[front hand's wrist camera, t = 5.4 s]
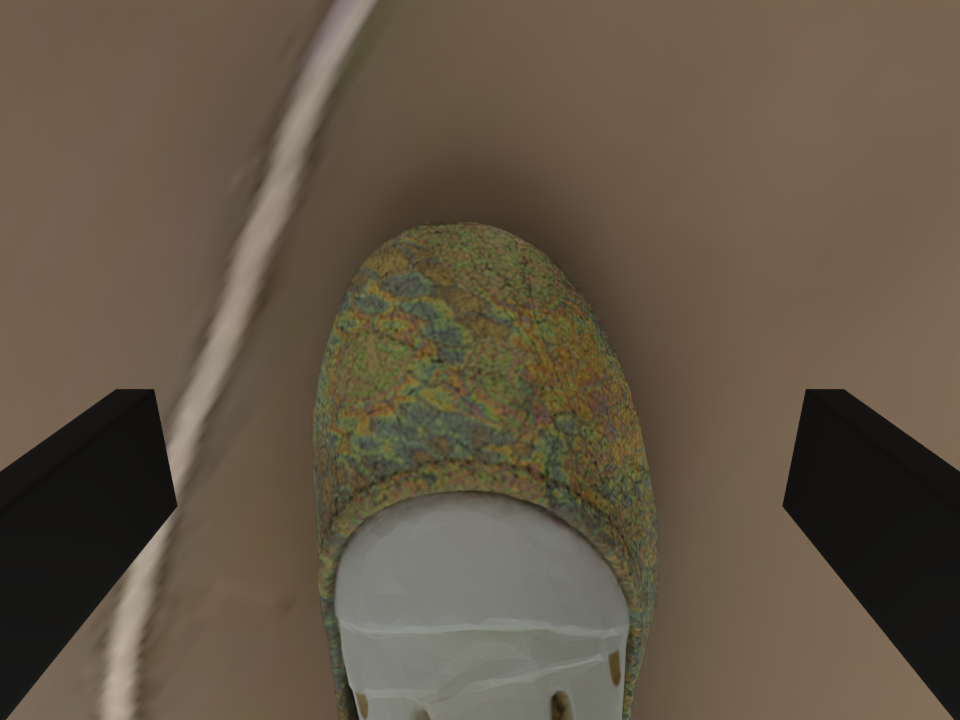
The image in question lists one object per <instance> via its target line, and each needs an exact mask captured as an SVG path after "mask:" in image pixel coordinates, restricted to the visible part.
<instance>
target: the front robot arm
mask: <svg viewBox="0 0 960 720" xmlns="http://www.w3.org/2000/svg"><path fill="white" fill-rule="evenodd" d="M176 507H177V501H176V496H175V491H174V486H173V481H172V476H171V471H170V466H169V461H168V456H167V451H166V446H165V441H164V436H163V431H162V426H161V421H160V416H159V411H158V406H157V401H156V396H155V391H154V389H116V390H114V391H113V392H111V393H110V394H109V395H107V396H106V397H104V398H103V399H102V400H100V401H99V402H97V403H96V404H95V405H93V406H92V407H90V408H89V409H88V410H86V411H85V412H83V413H82V414H81V415H79V416H78V417H76V418H75V419H74V420H72V421H71V422H69V423H68V424H67V425H65V426H64V427H62V428H61V429H60V430H58V431H57V432H55V433H54V434H53V435H51V436H50V437H48V438H47V439H45V440H44V441H43V442H41V443H40V444H38V445H37V446H36V447H34V448H33V449H31V450H30V451H29V452H27V453H26V454H24V455H23V456H22V457H20V458H19V459H17V460H16V461H15V462H13V463H12V464H10V465H9V466H8V467H6V468H5V469H3V470H2V471H1V472H0V720H6V719H7V718H8V716H9V715H10V714H11V713H12V711H13V710H14V709H15V708H16V706H17V705H18V704H19V703H20V701H21V700H22V699H23V698H24V696H25V695H26V694H27V693H28V692H29V690H30V689H31V688H32V687H33V685H34V684H35V683H36V682H37V680H38V679H39V678H40V677H41V675H42V674H43V673H44V672H45V670H46V669H47V668H48V667H49V665H50V664H51V663H52V662H53V660H54V659H55V658H56V657H57V655H58V654H59V653H60V652H61V650H62V649H63V648H64V647H65V645H66V644H67V643H68V642H69V641H70V639H71V638H72V637H73V636H74V634H75V633H76V632H77V631H78V629H79V628H80V627H81V626H82V624H83V623H84V622H85V621H86V619H87V618H88V617H89V616H90V614H91V613H92V612H93V611H94V609H95V608H96V607H97V606H98V604H99V603H100V602H101V601H102V599H103V598H104V597H105V596H106V595H107V593H108V592H109V591H110V590H111V588H112V587H113V586H114V585H115V583H116V582H117V581H118V580H119V578H120V577H121V576H122V575H123V573H124V572H125V571H126V570H127V568H128V567H129V566H130V565H131V563H132V562H133V561H134V560H135V558H136V557H137V556H138V555H139V553H140V552H141V551H142V550H143V549H144V547H145V546H146V545H147V544H148V542H149V541H150V540H151V539H152V537H153V536H154V535H155V534H156V532H157V531H158V530H159V529H160V527H161V526H162V525H163V524H164V522H165V521H166V520H167V519H168V517H169V516H170V515H171V514H172V512H173V511H174V510H175V509H176ZM783 507H784V509H785V510H786V511H787V512H788V514H789V515H790V516H791V517H792V519H793V520H794V521H795V522H796V524H797V525H798V526H799V527H800V529H801V530H802V531H803V532H804V534H805V535H806V536H807V537H808V539H809V540H810V541H811V542H812V544H813V545H814V546H815V547H816V549H817V550H818V551H819V552H820V553H821V555H822V556H823V557H824V558H825V560H826V561H827V562H828V563H829V565H830V566H831V567H832V568H833V570H834V571H835V572H836V573H837V575H838V576H839V577H840V578H841V580H842V581H843V582H844V583H845V585H846V586H847V587H848V588H849V590H850V591H851V592H852V593H853V595H854V596H855V597H856V598H857V599H858V601H859V602H860V603H861V604H862V606H863V607H864V608H865V609H866V611H867V612H868V613H869V614H870V616H871V617H872V618H873V619H874V621H875V622H876V623H877V624H878V626H879V627H880V628H881V629H882V631H883V632H884V633H885V634H886V636H887V637H888V638H889V639H890V641H891V642H892V643H893V644H894V645H895V647H896V648H897V649H898V650H899V652H900V653H901V654H902V655H903V657H904V658H905V659H906V660H907V662H908V663H909V664H910V665H911V667H912V668H913V669H914V670H915V672H916V673H917V674H918V675H919V677H920V678H921V679H922V680H923V682H924V683H925V684H926V685H927V687H928V688H929V689H930V690H931V692H932V693H933V694H934V695H935V696H936V698H937V699H938V700H939V701H940V703H941V704H942V705H943V706H944V708H945V709H946V710H947V711H948V713H949V714H950V715H951V716H952V718H953V719H954V720H960V472H959V471H958V470H957V469H955V468H954V467H952V466H951V465H950V464H948V463H947V462H945V461H944V460H943V459H941V458H940V457H938V456H937V455H936V454H934V453H933V452H931V451H930V450H929V449H927V448H926V447H924V446H923V445H922V444H920V443H919V442H917V441H916V440H915V439H913V438H912V437H910V436H909V435H907V434H906V433H905V432H903V431H902V430H900V429H899V428H898V427H896V426H895V425H893V424H892V423H891V422H889V421H888V420H886V419H885V418H884V417H882V416H881V415H879V414H878V413H877V412H875V411H874V410H872V409H871V408H870V407H868V406H867V405H865V404H864V403H863V402H861V401H860V400H858V399H857V398H856V397H854V396H853V395H851V394H850V393H849V392H847V391H846V390H844V389H806V391H805V396H804V401H803V406H802V411H801V416H800V421H799V426H798V431H797V436H796V441H795V446H794V451H793V456H792V461H791V466H790V471H789V476H788V481H787V486H786V491H785V496H784V501H783Z"/></svg>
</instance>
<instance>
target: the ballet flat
mask: <svg viewBox="0 0 960 720" xmlns="http://www.w3.org/2000/svg"><path fill="white" fill-rule="evenodd" d="M312 443H313V452H314V474H313V481H314V486H315V500H316V512H317V535H318V537H317V538H318V553H319V573H318V588H319V593H320V605H321V610H322V616H323V621H324V627H325V632H326V636H327V640H328V646H329V649H330V660H331V668H332V672H333V676H334V682H335V693H336V699H337V705H338V717H339V720H630V719H631V713H632V703H633V700H634V690H635V686H636V680H637V678H638V676H639V670H640V667H641V664H642V661H643V658H644V653H645V649H646V645H647V640H648V636H649V632H650V628H651V624H652V620H653V616H654V612H655V608H656V603H657V596H658V582H659V544H658V526H657V525H658V517H657V513H656V503H655V500H654V493H653V489H652V483H651V478H650V471H649V465H648V461H647V457H646V453H645V445H644V441H643V438H642V432H641V426H640V422H639V419H638V415H637V412H636V409H635V406H634V404H633V402H632V397H631V392H630V389H629V386H628V381H627V380H626V379H625V376H624V372H623V370H622V368H621V366H620V364H619V362H618V359H617V357H616V354H615V353H614V350H613V347H612V346H611V344H610V342H609V340H608V338H607V336H606V333H605V330H604V329H603V328H602V326H601V325H600V323H599V321H598V319H597V318H596V316H595V314H594V312H593V310H592V308H591V307H590V306H589V304H588V302H587V300H586V298H585V297H584V296H583V294H582V293H581V292H580V291H579V290H578V289H577V287H576V286H575V285H574V284H573V282H572V281H571V279H570V278H569V276H568V275H567V274H566V273H565V272H564V271H563V269H562V268H561V267H560V266H559V264H558V263H557V262H556V261H555V260H554V259H552V258H551V257H550V256H548V255H547V254H545V253H544V252H542V251H541V250H539V249H538V248H536V247H535V246H534V245H532V244H531V243H529V242H527V241H525V240H523V239H521V238H519V237H518V236H516V235H514V234H512V233H509V232H507V231H505V230H503V229H500V228H497V227H494V226H490V225H484V224H480V223H477V222H468V221H444V222H438V223H424V224H420V225H417V226H415V227H413V228H411V229H409V230H405V231H403V232H402V233H400V234H399V235H397V236H396V237H394V238H392V239H390V240H388V241H387V242H386V243H384V244H383V245H381V246H380V247H378V248H377V249H376V250H375V251H374V252H373V253H372V254H371V255H370V256H369V257H368V258H367V259H366V260H365V261H364V262H363V264H362V265H361V267H360V268H359V270H358V271H357V272H356V274H355V276H354V277H353V279H352V281H351V283H350V285H349V287H348V289H347V291H346V293H345V295H344V298H343V301H342V302H341V304H340V306H339V308H338V311H337V314H336V316H335V319H334V323H333V326H332V328H331V331H330V334H329V337H328V341H327V345H326V349H325V353H324V356H323V360H322V364H321V370H320V375H319V381H318V389H317V395H316V402H315V408H314V413H313V438H312Z"/></svg>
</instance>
